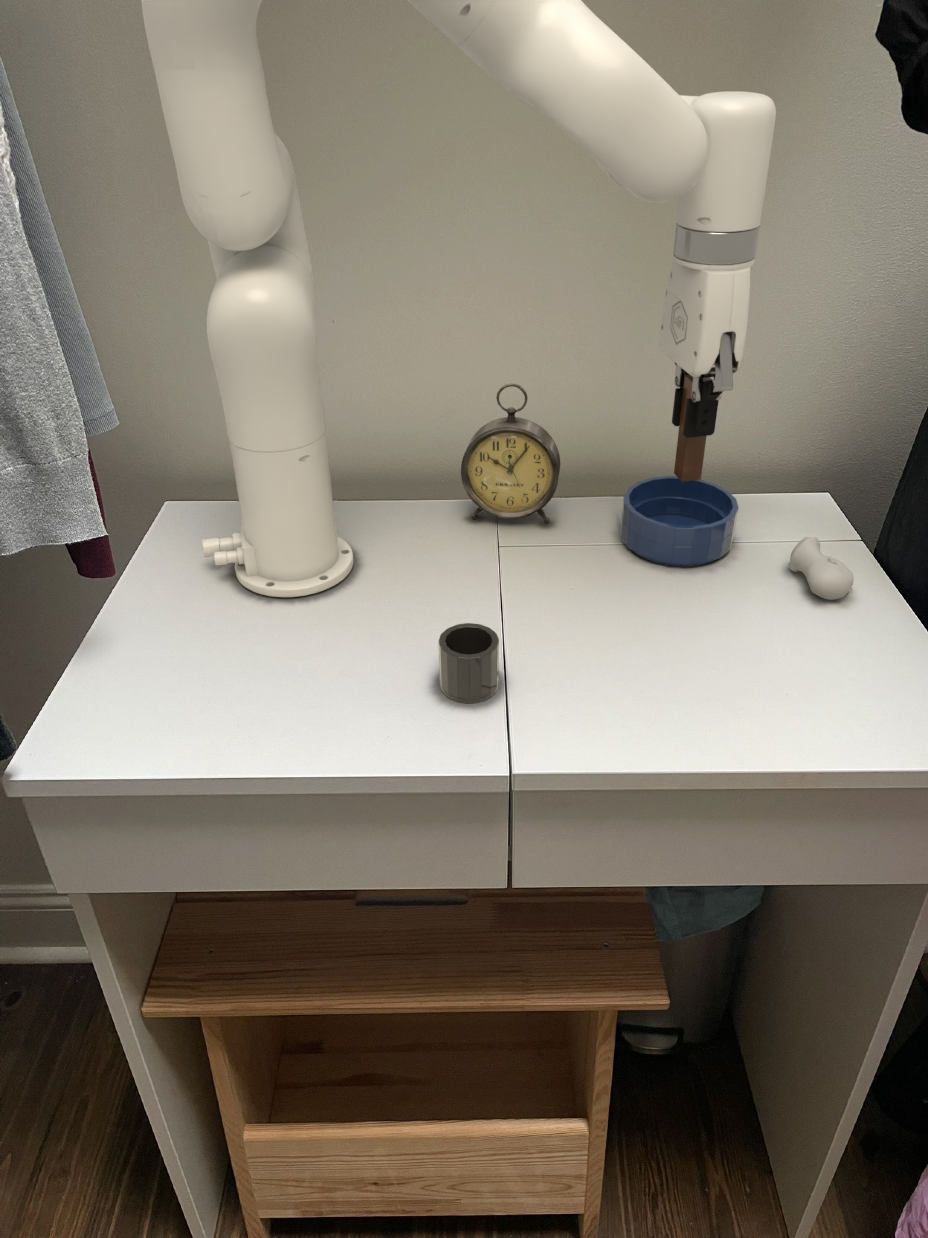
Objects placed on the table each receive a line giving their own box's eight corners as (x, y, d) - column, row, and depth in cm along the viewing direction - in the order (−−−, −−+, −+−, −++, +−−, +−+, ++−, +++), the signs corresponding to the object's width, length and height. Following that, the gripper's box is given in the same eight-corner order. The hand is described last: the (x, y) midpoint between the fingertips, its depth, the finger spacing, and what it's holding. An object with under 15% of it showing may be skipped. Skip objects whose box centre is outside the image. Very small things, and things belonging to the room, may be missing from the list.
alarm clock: (460, 524, 109) (458, 390, 100) (468, 502, 114) (467, 372, 105) (555, 531, 108) (562, 395, 99) (559, 509, 112) (566, 376, 103)
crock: (446, 707, 83) (445, 661, 80) (435, 671, 87) (433, 627, 84) (504, 698, 83) (505, 653, 81) (490, 663, 88) (490, 619, 85)
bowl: (643, 575, 100) (648, 534, 97) (605, 521, 110) (608, 482, 107) (750, 561, 102) (757, 520, 99) (703, 509, 112) (709, 470, 109)
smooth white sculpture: (851, 614, 96) (808, 605, 94) (817, 571, 102) (777, 562, 101) (873, 579, 93) (829, 569, 92) (837, 537, 100) (796, 528, 98)
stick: (681, 482, 100) (693, 382, 94) (673, 473, 102) (684, 374, 96) (701, 479, 101) (713, 380, 94) (692, 470, 102) (704, 372, 96)
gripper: (645, 228, 94) (631, 404, 104) (713, 269, 81) (689, 466, 91) (716, 222, 95) (695, 397, 105) (794, 262, 82) (761, 457, 92)
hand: (692, 428), depth 98 cm, fingers closed on stick, 2 cm apart
